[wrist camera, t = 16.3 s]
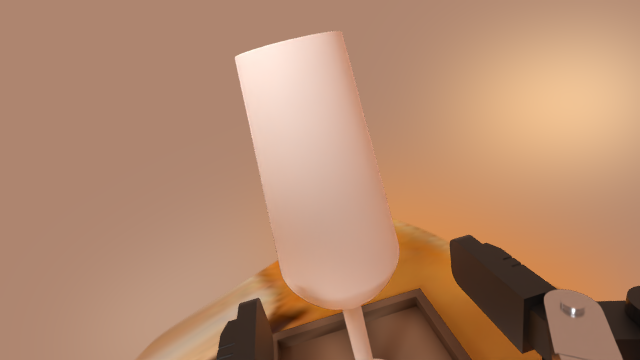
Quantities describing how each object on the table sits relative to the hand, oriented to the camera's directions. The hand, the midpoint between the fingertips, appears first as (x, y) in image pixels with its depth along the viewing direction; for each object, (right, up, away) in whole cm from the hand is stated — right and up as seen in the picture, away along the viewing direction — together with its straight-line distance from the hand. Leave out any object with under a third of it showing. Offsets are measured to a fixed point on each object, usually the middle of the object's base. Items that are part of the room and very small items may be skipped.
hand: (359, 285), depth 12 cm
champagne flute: (+2, -12, +9) cm, 15 cm away
